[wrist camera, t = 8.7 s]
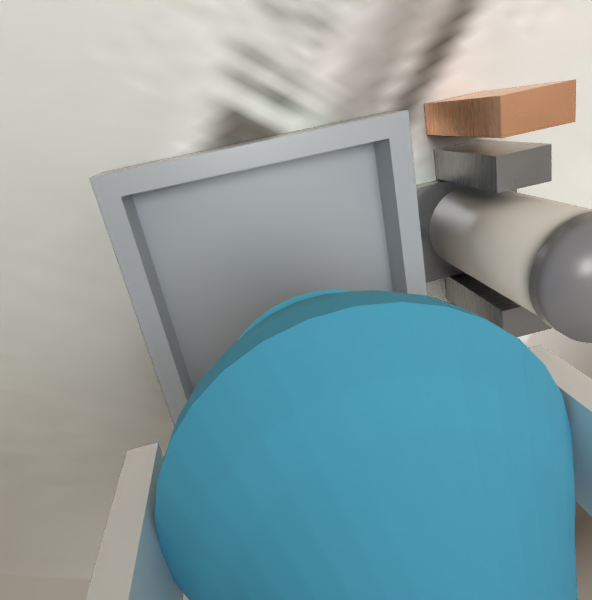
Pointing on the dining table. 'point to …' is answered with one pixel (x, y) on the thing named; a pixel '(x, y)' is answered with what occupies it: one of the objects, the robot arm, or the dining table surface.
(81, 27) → the dining table surface
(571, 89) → the clip rack
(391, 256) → the tray
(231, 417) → the perfume bottle
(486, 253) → the canister
